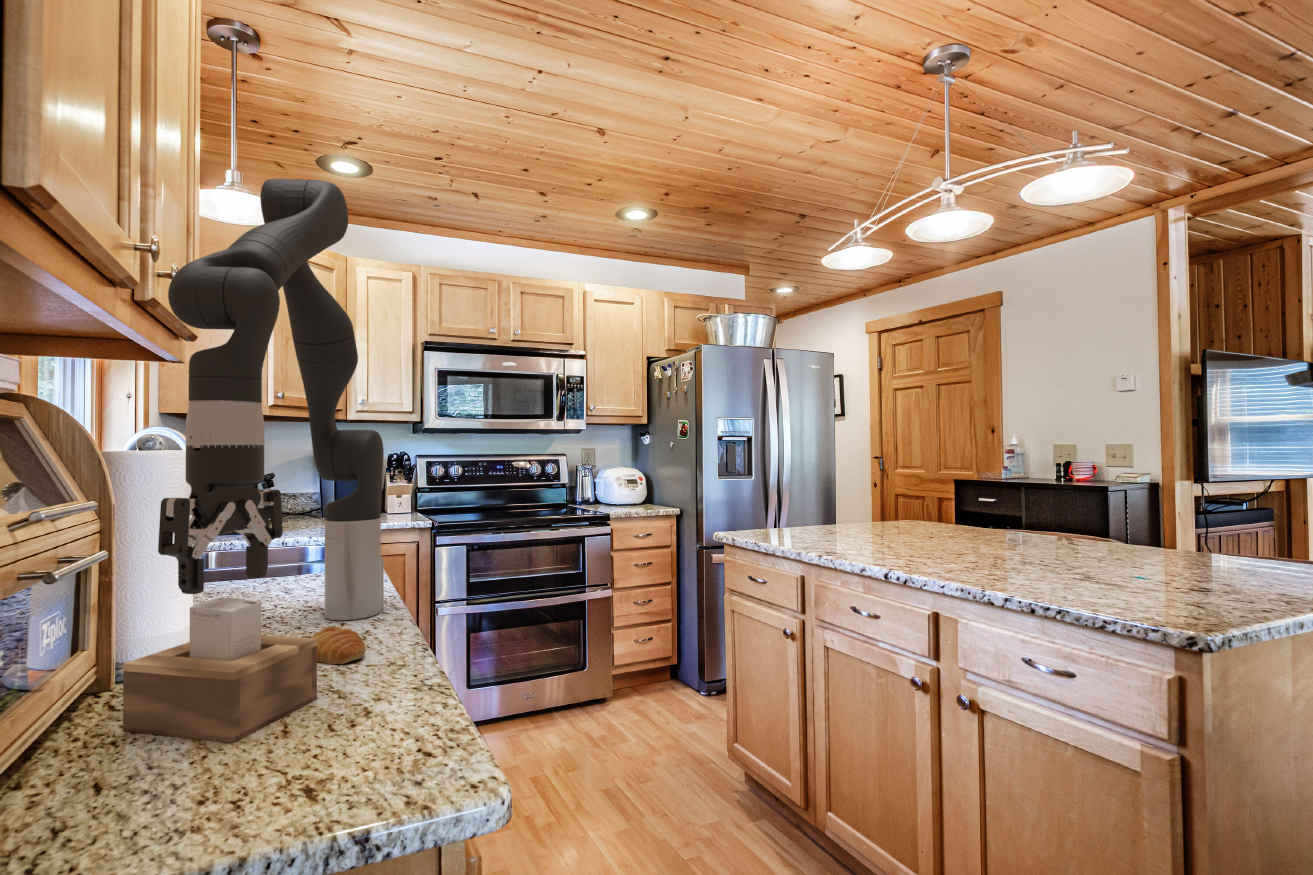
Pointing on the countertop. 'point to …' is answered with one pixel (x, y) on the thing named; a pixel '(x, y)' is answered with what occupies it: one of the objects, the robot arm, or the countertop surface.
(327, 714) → the countertop surface
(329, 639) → the pastry
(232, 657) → the skincare box
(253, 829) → the countertop surface
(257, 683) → the slot box
